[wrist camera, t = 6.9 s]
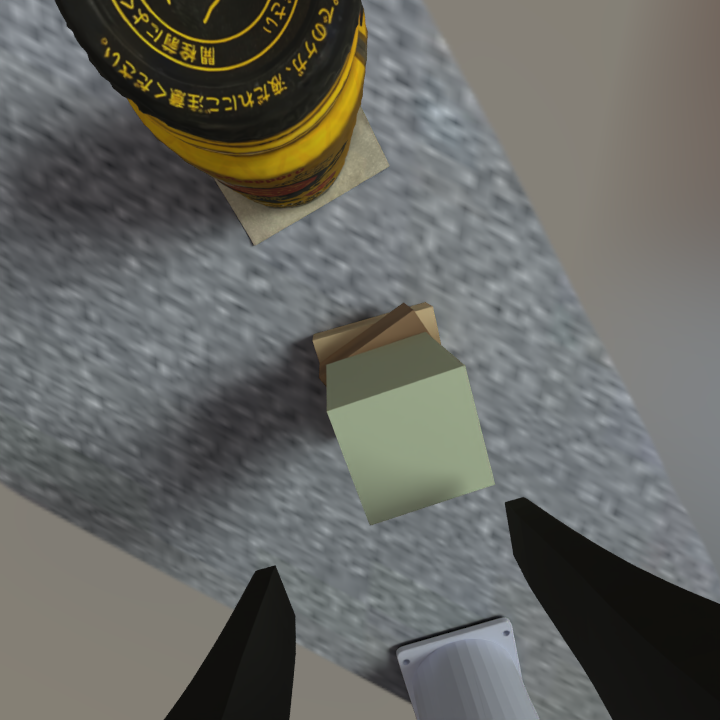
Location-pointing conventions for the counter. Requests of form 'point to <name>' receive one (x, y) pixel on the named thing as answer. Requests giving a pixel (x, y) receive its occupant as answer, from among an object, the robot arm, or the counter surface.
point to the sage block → (407, 426)
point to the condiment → (244, 93)
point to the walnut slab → (379, 336)
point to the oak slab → (342, 335)
